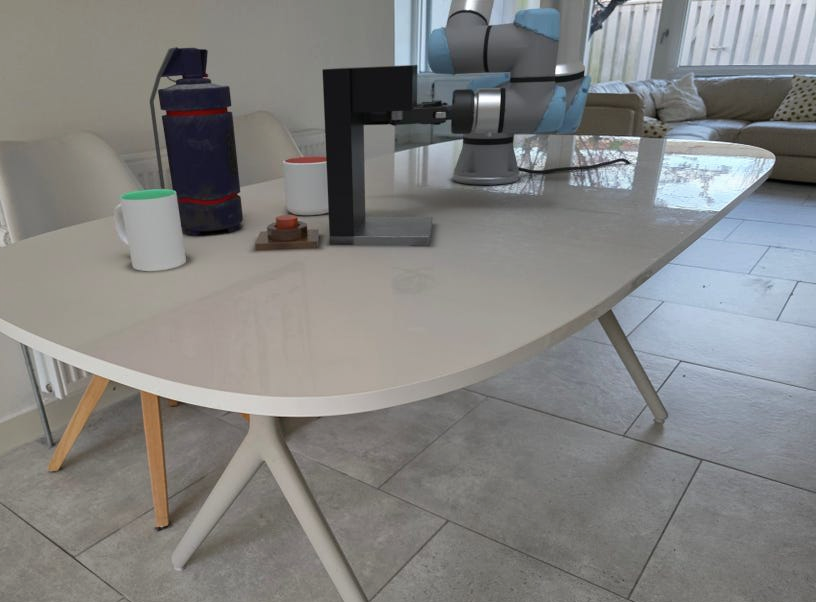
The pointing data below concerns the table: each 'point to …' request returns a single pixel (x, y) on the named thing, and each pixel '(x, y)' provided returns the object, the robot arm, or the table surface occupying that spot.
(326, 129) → the coffee maker
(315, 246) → the brew pad
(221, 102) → the grenade
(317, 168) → the cup
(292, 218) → the brew button
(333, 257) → the table surface
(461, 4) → the robot arm
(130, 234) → the mug
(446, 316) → the table surface
